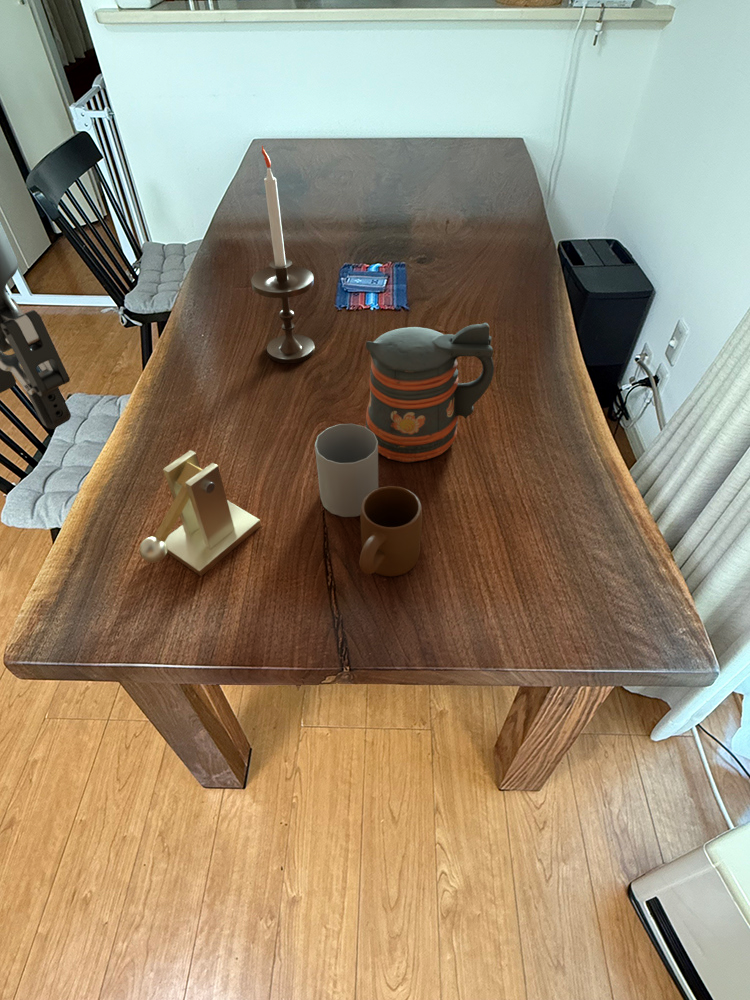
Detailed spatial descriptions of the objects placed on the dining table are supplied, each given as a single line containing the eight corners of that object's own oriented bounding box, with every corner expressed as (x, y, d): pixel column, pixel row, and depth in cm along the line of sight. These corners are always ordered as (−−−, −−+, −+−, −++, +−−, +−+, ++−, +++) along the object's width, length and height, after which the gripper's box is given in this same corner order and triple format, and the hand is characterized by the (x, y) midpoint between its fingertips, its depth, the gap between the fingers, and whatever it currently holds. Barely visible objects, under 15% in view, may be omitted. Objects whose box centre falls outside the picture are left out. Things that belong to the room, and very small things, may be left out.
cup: (328, 473, 90) (323, 420, 83) (381, 479, 89) (381, 426, 82) (315, 513, 84) (308, 460, 77) (372, 520, 83) (371, 467, 76)
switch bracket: (201, 576, 77) (176, 507, 68) (160, 548, 80) (132, 479, 71) (261, 525, 83) (246, 455, 74) (221, 501, 86) (202, 432, 77)
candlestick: (251, 356, 114) (214, 150, 89) (285, 331, 120) (259, 132, 95) (297, 372, 110) (273, 161, 85) (330, 345, 116) (316, 142, 91)
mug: (393, 613, 72) (394, 565, 66) (337, 593, 75) (332, 544, 68) (427, 544, 80) (431, 494, 73) (375, 527, 82) (375, 478, 76)
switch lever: (164, 568, 74) (146, 565, 71) (147, 556, 75) (129, 552, 72) (216, 477, 74) (200, 469, 72) (198, 466, 76) (182, 459, 73)
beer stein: (477, 406, 102) (493, 295, 88) (487, 464, 91) (507, 348, 77) (366, 406, 102) (363, 295, 88) (364, 463, 92) (361, 348, 77)
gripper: (-172, 206, 42) (-53, 398, 53) (-74, 256, 36) (37, 460, 47) (-64, 177, 46) (25, 360, 58) (40, 218, 40) (117, 413, 51)
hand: (30, 405), depth 52 cm, fingers open, 8 cm apart
